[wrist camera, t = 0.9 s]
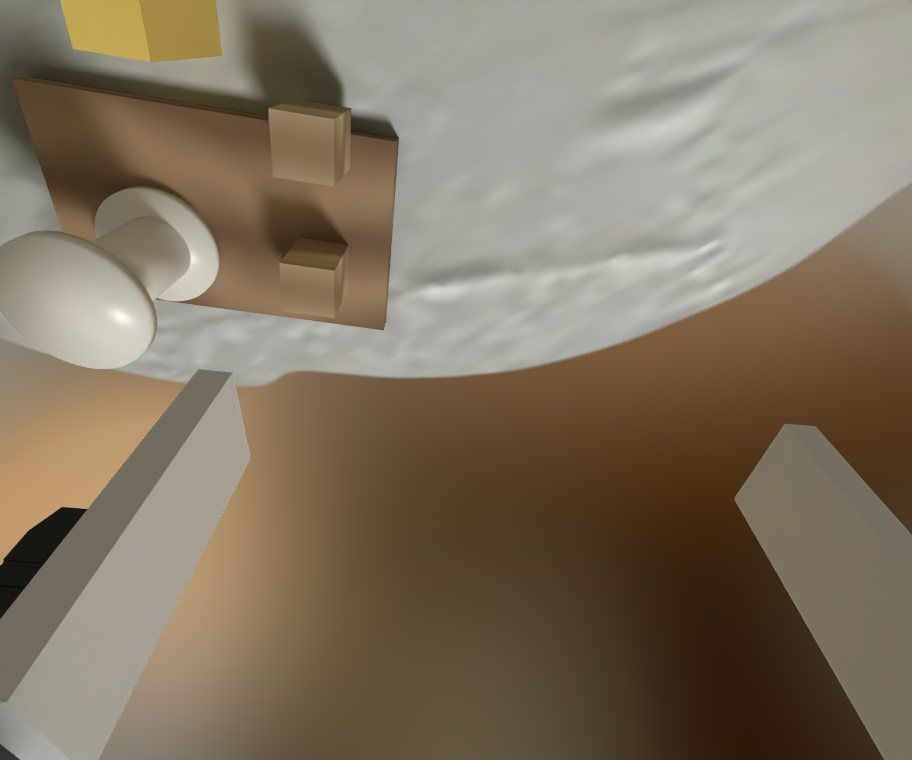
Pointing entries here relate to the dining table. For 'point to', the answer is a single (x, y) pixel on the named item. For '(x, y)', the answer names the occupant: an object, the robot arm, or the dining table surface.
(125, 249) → the knob
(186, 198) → the board
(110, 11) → the yellow rectangular block
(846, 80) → the dining table surface
